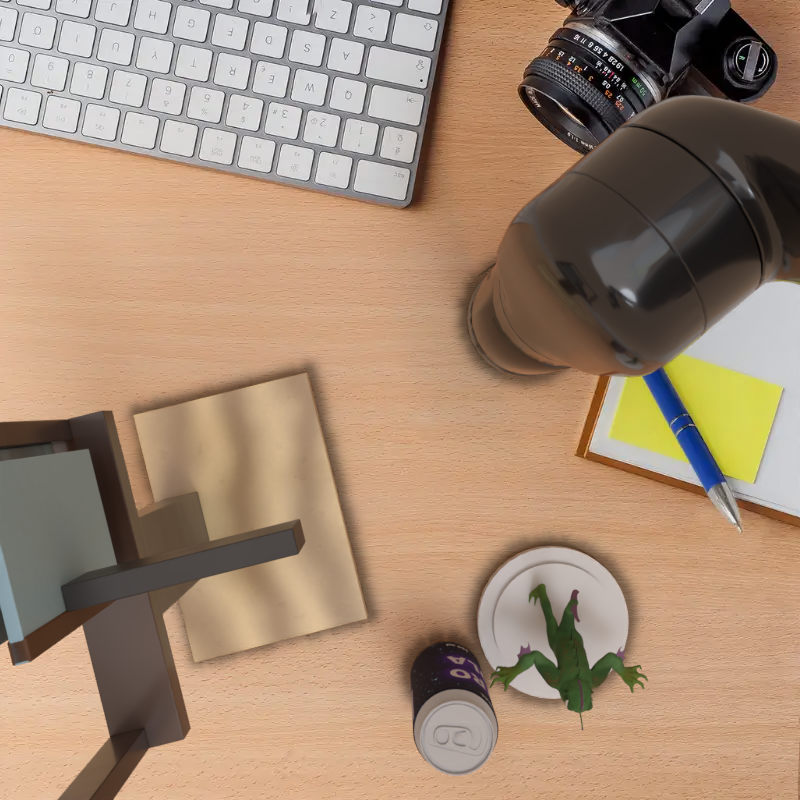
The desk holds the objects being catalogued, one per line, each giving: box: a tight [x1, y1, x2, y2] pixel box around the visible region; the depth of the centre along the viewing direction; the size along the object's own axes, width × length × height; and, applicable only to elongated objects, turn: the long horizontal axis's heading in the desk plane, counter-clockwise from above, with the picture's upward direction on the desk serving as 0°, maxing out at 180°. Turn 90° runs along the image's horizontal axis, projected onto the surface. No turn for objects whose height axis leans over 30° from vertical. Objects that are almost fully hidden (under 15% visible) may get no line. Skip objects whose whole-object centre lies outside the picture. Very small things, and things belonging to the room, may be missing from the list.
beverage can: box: [409, 641, 499, 777], centre depth 56 cm, size 6×6×12 cm
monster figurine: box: [476, 545, 649, 731], centre depth 57 cm, size 12×12×10 cm
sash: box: [0, 449, 306, 667], centre depth 36 cm, size 11×8×11 cm
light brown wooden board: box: [133, 371, 369, 663], centre depth 61 cm, size 14×20×1 cm
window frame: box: [0, 409, 210, 800], centre depth 44 cm, size 4×19×34 cm, turn 14°
